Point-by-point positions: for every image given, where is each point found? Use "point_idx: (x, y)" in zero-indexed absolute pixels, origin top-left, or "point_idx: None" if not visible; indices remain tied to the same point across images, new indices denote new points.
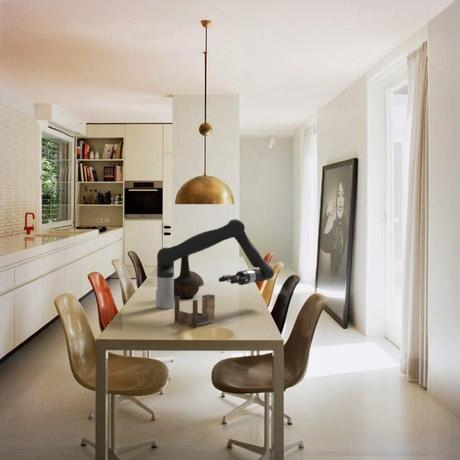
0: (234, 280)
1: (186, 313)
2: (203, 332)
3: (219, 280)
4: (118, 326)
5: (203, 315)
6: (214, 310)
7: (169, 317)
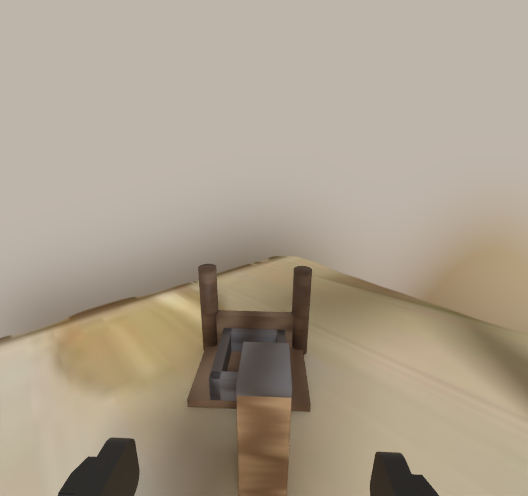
0: (63, 487)
1: (248, 312)
2: (158, 331)
3: (378, 474)
4: (352, 282)
5: (217, 362)
6: (238, 462)
7: (387, 377)
